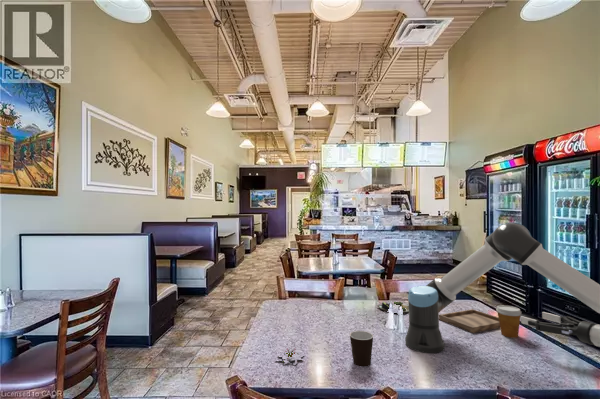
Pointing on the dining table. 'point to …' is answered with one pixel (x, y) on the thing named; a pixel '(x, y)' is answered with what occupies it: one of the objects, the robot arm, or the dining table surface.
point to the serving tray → (471, 320)
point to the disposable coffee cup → (509, 320)
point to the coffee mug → (361, 347)
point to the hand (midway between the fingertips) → (532, 317)
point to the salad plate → (386, 306)
